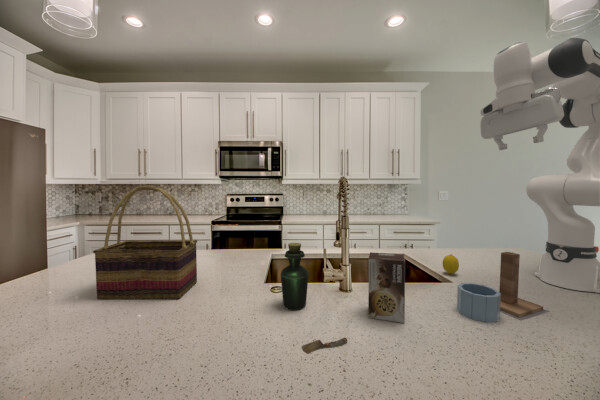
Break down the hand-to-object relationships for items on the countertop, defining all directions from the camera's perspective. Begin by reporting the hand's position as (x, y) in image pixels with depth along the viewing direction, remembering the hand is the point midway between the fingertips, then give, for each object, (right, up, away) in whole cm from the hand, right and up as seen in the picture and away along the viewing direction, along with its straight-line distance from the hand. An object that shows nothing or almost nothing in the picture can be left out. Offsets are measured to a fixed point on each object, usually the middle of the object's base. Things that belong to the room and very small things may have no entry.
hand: (519, 146), depth 75 cm
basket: (-116, -47, +8) cm, 125 cm away
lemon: (-7, -46, +23) cm, 52 cm away
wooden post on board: (-6, -46, -3) cm, 47 cm away
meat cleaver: (-61, -48, -21) cm, 81 cm away
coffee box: (-43, -47, -8) cm, 64 cm away
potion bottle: (-68, -47, -2) cm, 82 cm away
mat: (-6, -47, -3) cm, 47 cm away
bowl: (-18, -47, -8) cm, 51 cm away
